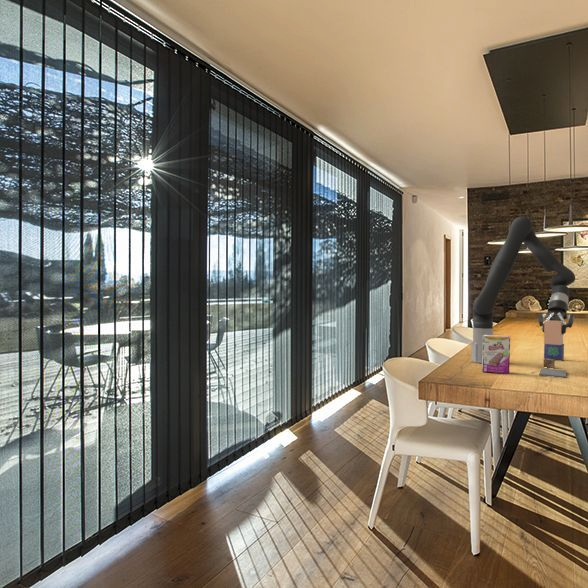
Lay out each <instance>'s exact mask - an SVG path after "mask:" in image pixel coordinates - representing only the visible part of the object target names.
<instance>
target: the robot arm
mask: <svg viewBox="0 0 588 588" xmlns="http://www.w3.org/2000/svg"><path fill="white" fill-rule="evenodd" d="M523 244H524V245H525V246H526V247H527V248H528V249H529V251H530V252H531V253H532V255H533V256H534V257H535V259H536V260H537V262H538V263H539V264H540V266H541V267H542V268H543V269H544V270H545V272H547V273H551V272H553V271H554V272H556V273H557V274H555V275H553V276H552V277H551V279H550V288H551V297H550V299H549V302H548V308H547V312H545V313H543V312H539V313H538V325H539V326H540V327H541V331H542V333H544V321H546V320H556V321H563V326H562V335H563V336H564V334H566V333H567V329H571V328H572V327H573V324H574V320H575V315H574V313H571V314H568V307H569V298H570V297H569V296H570V289H569V287H568V286H570V285H571V284H574V282H575V281H576V275H575V273H574V272H573V271H572V270H571V269H570V268H568V267H567V266H566V265H565V264H563V263H562V262H561V261H559V260H558V258H557V257H556V256H555V254H553V252H552V251H551V250H550V249H549V247H547V246H546V245H545V244H544V243H543V242H542V241H541V239H540V238H538V236H537V235H536V233H535V232H534V230H533V223H532V220H531V219H530V218H529V217H528V216H524V215H523V216H517V217H516V218H515V219H513V220H512V223H511V224H510V229H509V232H508V234H507V237H506V239H505V242H504V243H503V245H502V246H501V248H500V249H499V251H498V253H497V254H496V256H495V258H494V260H493V262H492V264H491V266H490V268H489V271H488V274H487V278H486V280H485V281H486V282H485V284H484V286H483V288H482V290H481V292H480V293H479V295H478V296H477V297H476V298H475V299H474V301H473V303H472V342H471V349H470V350H471V354H470V355H471V360H472V361H471V362H474V363H475V364H482V355H483V335H494V321H493V309H494V307H495V304H496V301H497V298H498V296H499V293H500V291H501V289H502V288H503V286H504V284H505V283H506V282H507V279H508V278H509V275H511V273H512V270H513V267H514V266H515V263H516V261H517V258H518V255H519V251H520V249H521V247H522V245H523ZM544 319H545V320H544ZM566 319H568V322H566Z"/></svg>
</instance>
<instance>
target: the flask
mask: <svg viewBox="0 0 588 588" xmlns="http://www.w3.org/2000/svg"><path fill="white" fill-rule="evenodd" d="M543 344H544V343H543ZM543 348H544V349H543V360H544V359H555V361H556V360H562V361H561V362H564V361H565V344H564V343H563V344H562V345H553V344H544V346H543ZM563 360H564V361H563Z"/></svg>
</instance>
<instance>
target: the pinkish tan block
mask: <svg viewBox="0 0 588 588" xmlns="http://www.w3.org/2000/svg"><path fill="white" fill-rule="evenodd" d="M545 320H546V319H545ZM545 320H543V322H544V332H543V336H544V337H543V344H553V345H562V344H564V335H562V326H563V321H556V320H546V321H545Z"/></svg>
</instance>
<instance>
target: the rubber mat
mask: <svg viewBox="0 0 588 588" xmlns="http://www.w3.org/2000/svg"><path fill="white" fill-rule="evenodd" d="M539 375H545V376H544V377H547V376H554V377H553V378H558V377H563V378H562V379H566V378H567V370H566V369H565V370H564V369H556V368H553V369H549V368H543V367H542V368H540V371H539V374H538V376H539Z"/></svg>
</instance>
